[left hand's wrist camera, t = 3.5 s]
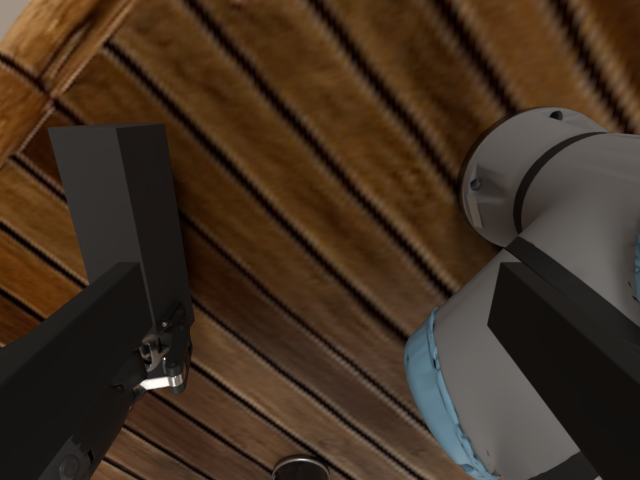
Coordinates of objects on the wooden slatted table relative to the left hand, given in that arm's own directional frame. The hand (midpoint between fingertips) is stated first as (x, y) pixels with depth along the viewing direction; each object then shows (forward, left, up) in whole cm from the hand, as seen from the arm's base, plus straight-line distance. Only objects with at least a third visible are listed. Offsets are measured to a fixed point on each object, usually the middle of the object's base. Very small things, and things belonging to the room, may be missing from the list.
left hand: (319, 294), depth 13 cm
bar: (+8, +17, -23) cm, 30 cm away
